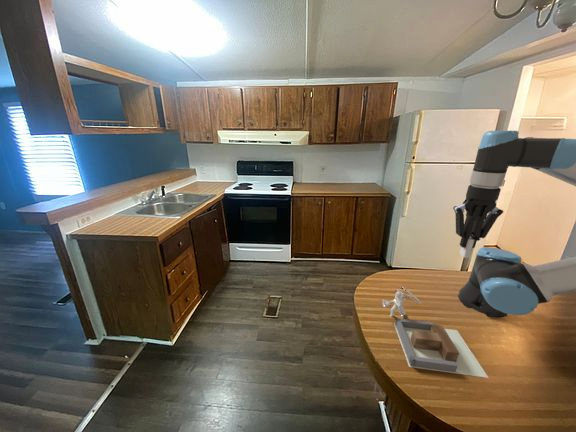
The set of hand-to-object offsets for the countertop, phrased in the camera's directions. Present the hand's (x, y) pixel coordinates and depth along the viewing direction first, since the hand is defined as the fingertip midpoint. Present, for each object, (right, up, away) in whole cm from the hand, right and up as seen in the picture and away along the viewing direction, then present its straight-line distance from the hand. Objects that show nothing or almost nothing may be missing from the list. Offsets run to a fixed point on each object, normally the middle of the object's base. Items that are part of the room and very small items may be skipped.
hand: (464, 255), depth 76 cm
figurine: (-21, -24, +6) cm, 32 cm away
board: (-13, -28, -5) cm, 31 cm away
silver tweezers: (-7, -21, +15) cm, 27 cm away
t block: (-15, -27, -5) cm, 31 cm away
